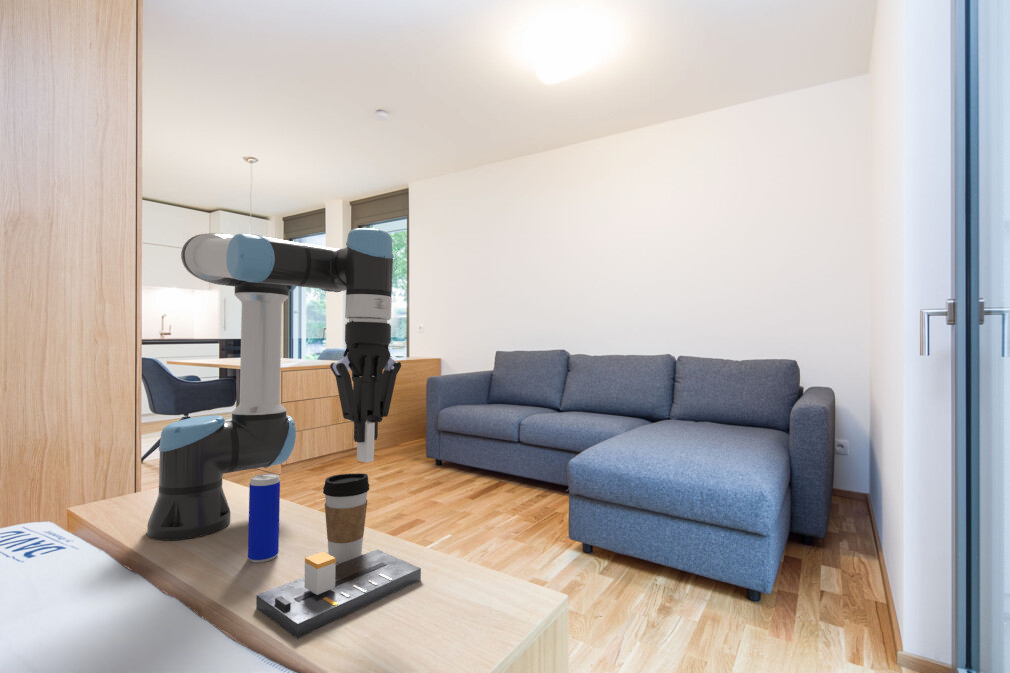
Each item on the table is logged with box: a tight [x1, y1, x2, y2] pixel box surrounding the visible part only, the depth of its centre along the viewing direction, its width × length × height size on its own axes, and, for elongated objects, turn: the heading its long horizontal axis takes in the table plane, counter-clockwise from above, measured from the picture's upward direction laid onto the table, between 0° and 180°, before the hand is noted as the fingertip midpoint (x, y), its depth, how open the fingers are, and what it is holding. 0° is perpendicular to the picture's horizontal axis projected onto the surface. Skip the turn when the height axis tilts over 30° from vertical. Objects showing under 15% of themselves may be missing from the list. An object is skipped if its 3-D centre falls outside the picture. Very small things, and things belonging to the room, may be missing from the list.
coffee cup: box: [322, 472, 370, 564], centre depth 93 cm, size 8×8×15 cm
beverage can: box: [247, 473, 281, 564], centre depth 92 cm, size 5×5×15 cm
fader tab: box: [304, 551, 337, 595], centre depth 75 cm, size 4×3×4 cm
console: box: [255, 549, 422, 640], centre depth 79 cm, size 12×22×3 cm, turn 141°
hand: (365, 460), depth 83 cm, fingers closed
